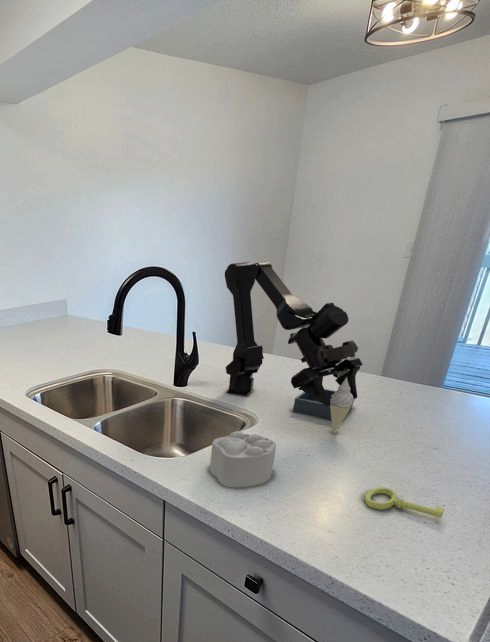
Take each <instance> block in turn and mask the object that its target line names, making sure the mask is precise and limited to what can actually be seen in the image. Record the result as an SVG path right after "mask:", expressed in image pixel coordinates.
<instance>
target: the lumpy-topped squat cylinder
mask: <svg viewBox="0 0 490 642" xmlns="http://www.w3.org/2000/svg"><path fill="white" fill-rule="evenodd" d="M276 450H277V445H276V442H275V441H273V440H272V439H271V438H268V437H264V436H262V435H260V434H256V433H254V434H253V433H252V434H248V433H244V432H242V431H239V430H237V431H233V432H231V433H230V434H229V435H226V436H220V437H216V438H215V439H213V440H212V443H211V453H210V463H209V472H210V473H211V475H212V476H214V477H215V478H216V479H217V481H218V482H219V484H221V485H222V486H224V487H227V488H233V489H235V488H236V489H237V488H250V487H254V486H259V485H263V484H265V483H267V482H268V481H269V480H270V479H271V477H272V475H273V469H274V468H273V467H274V462H275V455H276Z"/></svg>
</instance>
